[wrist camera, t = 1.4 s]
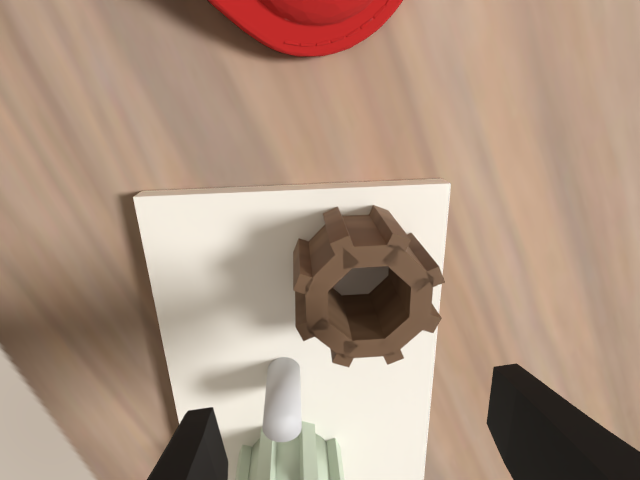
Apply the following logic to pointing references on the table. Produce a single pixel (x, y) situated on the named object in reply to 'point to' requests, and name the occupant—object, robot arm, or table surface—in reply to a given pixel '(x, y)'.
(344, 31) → the red peeler
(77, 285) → the table surface
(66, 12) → the table surface
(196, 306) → the gear board
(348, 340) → the walnut gear
